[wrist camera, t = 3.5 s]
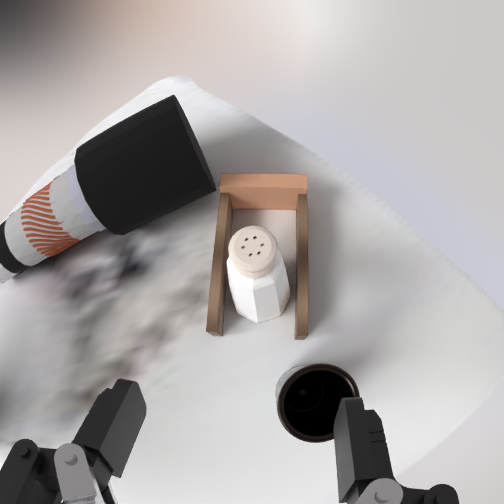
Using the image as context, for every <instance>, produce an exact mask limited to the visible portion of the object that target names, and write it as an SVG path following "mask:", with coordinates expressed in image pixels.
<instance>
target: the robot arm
mask: <svg viewBox="0 0 504 504" xmlns="http://www.w3.org/2000/svg"><path fill="white" fill-rule="evenodd" d="M145 416H146V403H145V401H144V398H143V395H142V393H141V390H140V387H139V385H138V383H137V382H135V381H130V380H125V379H118V380H117V381H116V383H115V385H114V386H113V388H112V389H109V388H107V389H106V390H104V391H103V392H102V393H101V394H100V395H98V397H97V399H96V401H95V402H94V404H93V407H92V408H91V409H90V411H89V414H88V415H87V416H86V418H85V420H84V422H83V424H82V425H81V427H80V429H79V431H78V433H77V434H76V436H75V438H74V440H73V441H72V442H71V443H68V444H64V445H62V446H60V447H59V448H58V449H49V448H39V447H38V446H37V445H36V444H35V443H34V442H33V441H32V440H29V439H21V440H19V441H17V442H16V443H15V444H14V446H13V447H12V449H11V451H10V453H9V455H8V457H7V459H6V461H5V462H4V464H3V466H2V468H1V470H0V504H118V503H117V500H116V497H115V495H114V492H113V490H112V487H111V484H110V482H109V480H110V478H111V475H113V476H116V477H119V478H121V475H122V473H123V470H124V468H125V465H126V463H127V460H128V458H129V455H130V453H131V450H132V448H133V445H134V443H135V441H136V438H137V436H138V433H139V431H140V428H141V426H142V424H143V421H144V419H145ZM334 441H335V453H336V465H337V478H338V493H339V503H346V502H347V504H459V500H458V495H457V493H456V491H455V489H454V488H453V487H451V486H449V485H446V484H439V485H436V486H434V487H432V488H430V489H429V490H423V489H412V488H407V487H404V486H402V485H401V484H399V483H398V482H397V481H396V480H395V478H394V476H393V473H392V468H391V462H390V457H389V453H388V448H387V443H386V439H385V434H384V430H383V425H382V421H381V419H380V417H379V416H378V415H377V413H376V412H375V411H374V410H365V409H364V404H363V400H362V398H361V397H355V398H342V399H341V402H340V405H339V408H338V412H337V415H336V418H335V422H334ZM62 499H63V503H61V501H62Z"/></svg>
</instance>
